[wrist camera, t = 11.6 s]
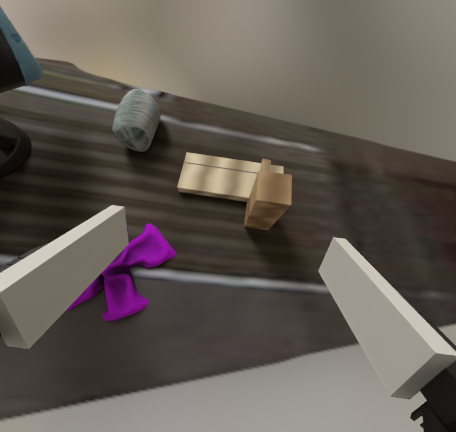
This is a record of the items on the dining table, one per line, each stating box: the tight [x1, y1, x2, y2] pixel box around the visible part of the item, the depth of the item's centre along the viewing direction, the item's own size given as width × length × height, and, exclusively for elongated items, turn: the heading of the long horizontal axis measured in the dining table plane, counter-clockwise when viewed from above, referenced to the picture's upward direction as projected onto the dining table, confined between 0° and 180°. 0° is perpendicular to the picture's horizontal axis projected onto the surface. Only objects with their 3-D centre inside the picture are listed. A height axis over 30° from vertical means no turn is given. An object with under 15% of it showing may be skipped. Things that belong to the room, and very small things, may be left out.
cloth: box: [67, 224, 176, 321], centre depth 32 cm, size 22×19×6 cm
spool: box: [112, 89, 161, 152], centre depth 42 cm, size 14×10×10 cm
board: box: [177, 153, 283, 202], centre depth 41 cm, size 22×9×2 cm, turn 82°
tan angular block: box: [244, 159, 292, 230], centre depth 35 cm, size 5×13×13 cm, turn 172°
